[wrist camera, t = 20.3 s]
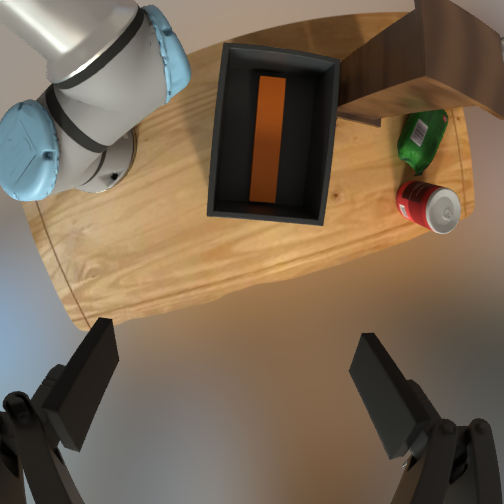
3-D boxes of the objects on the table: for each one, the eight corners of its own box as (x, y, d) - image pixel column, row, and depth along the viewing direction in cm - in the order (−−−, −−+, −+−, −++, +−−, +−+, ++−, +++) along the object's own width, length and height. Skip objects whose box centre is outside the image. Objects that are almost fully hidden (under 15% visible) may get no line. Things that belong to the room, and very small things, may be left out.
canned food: (420, 223, 52) (453, 239, 41) (389, 212, 50) (421, 227, 40) (430, 187, 49) (466, 197, 39) (401, 174, 48) (435, 181, 38)
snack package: (385, 155, 47) (399, 157, 42) (416, 91, 43) (431, 87, 38) (411, 176, 49) (426, 179, 44) (440, 113, 44) (456, 112, 39)
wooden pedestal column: (319, 114, 44) (425, 76, 16) (323, 62, 41) (417, -17, 13) (377, 127, 45) (507, 119, 17) (380, 77, 42) (499, 34, 14)
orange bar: (248, 198, 47) (249, 201, 45) (258, 79, 41) (259, 75, 39) (273, 200, 48) (275, 203, 45) (283, 82, 41) (286, 78, 39)
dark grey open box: (212, 202, 48) (206, 216, 38) (225, 65, 41) (223, 42, 30) (304, 210, 50) (323, 226, 39) (318, 77, 42) (340, 59, 32)
